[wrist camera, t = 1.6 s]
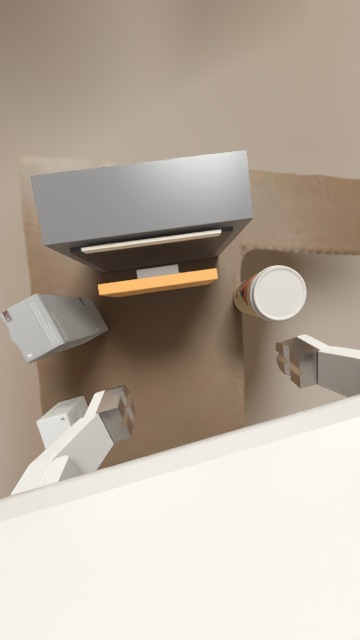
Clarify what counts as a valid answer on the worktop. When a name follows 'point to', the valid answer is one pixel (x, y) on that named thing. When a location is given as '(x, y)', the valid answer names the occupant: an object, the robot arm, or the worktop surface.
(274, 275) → the coffee cup
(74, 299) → the skincare box
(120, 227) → the grey rectangular box
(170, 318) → the worktop surface
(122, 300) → the worktop surface
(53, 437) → the skincare box
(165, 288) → the panel
